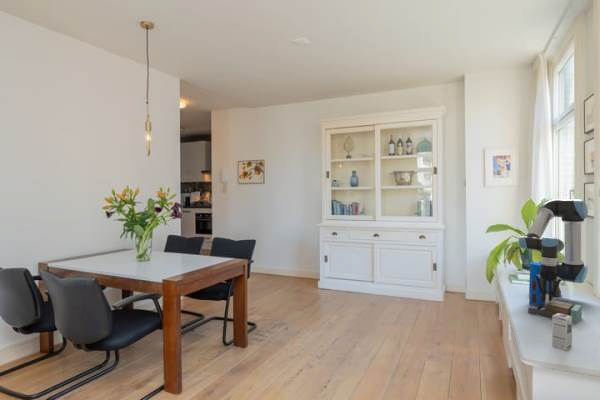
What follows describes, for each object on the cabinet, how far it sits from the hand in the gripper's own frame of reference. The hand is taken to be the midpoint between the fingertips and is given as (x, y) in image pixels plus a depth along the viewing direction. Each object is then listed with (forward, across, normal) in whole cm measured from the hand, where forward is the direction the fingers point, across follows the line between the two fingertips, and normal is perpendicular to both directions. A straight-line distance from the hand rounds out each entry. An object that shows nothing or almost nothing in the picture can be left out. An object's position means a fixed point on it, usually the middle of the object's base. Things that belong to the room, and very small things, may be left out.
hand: (547, 305), depth 207 cm
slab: (+2, +6, 0) cm, 6 cm away
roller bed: (+5, +2, 0) cm, 5 cm away
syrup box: (+5, +16, -46) cm, 49 cm away
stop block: (+5, +13, 0) cm, 14 cm away
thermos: (+5, -8, +17) cm, 20 cm away
